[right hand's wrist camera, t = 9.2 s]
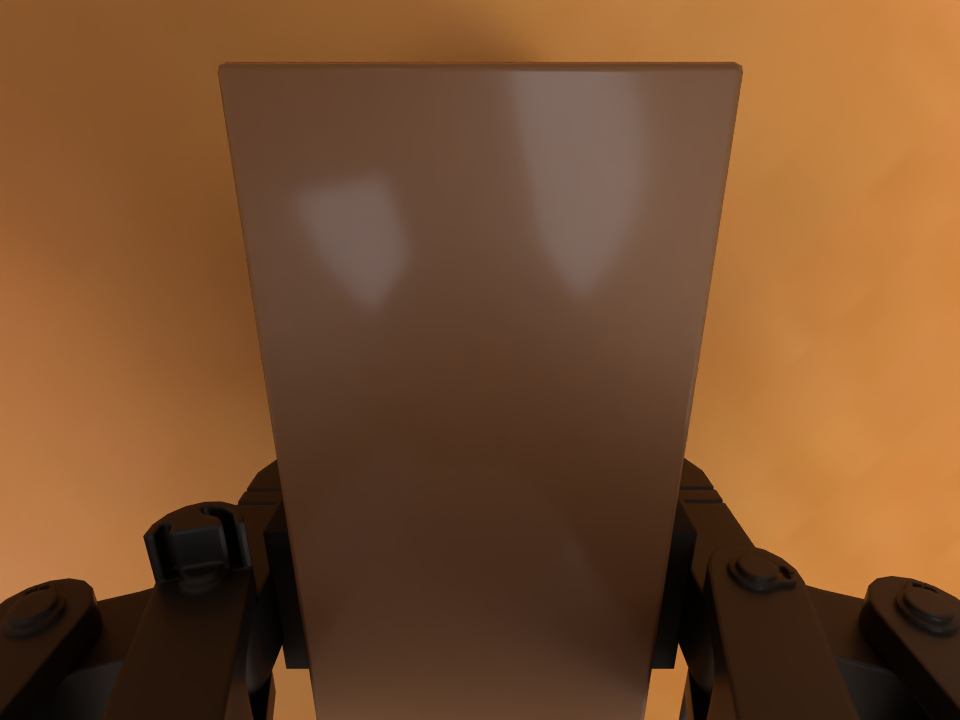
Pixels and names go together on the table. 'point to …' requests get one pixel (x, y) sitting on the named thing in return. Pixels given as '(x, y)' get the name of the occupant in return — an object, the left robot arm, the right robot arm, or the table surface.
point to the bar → (480, 365)
